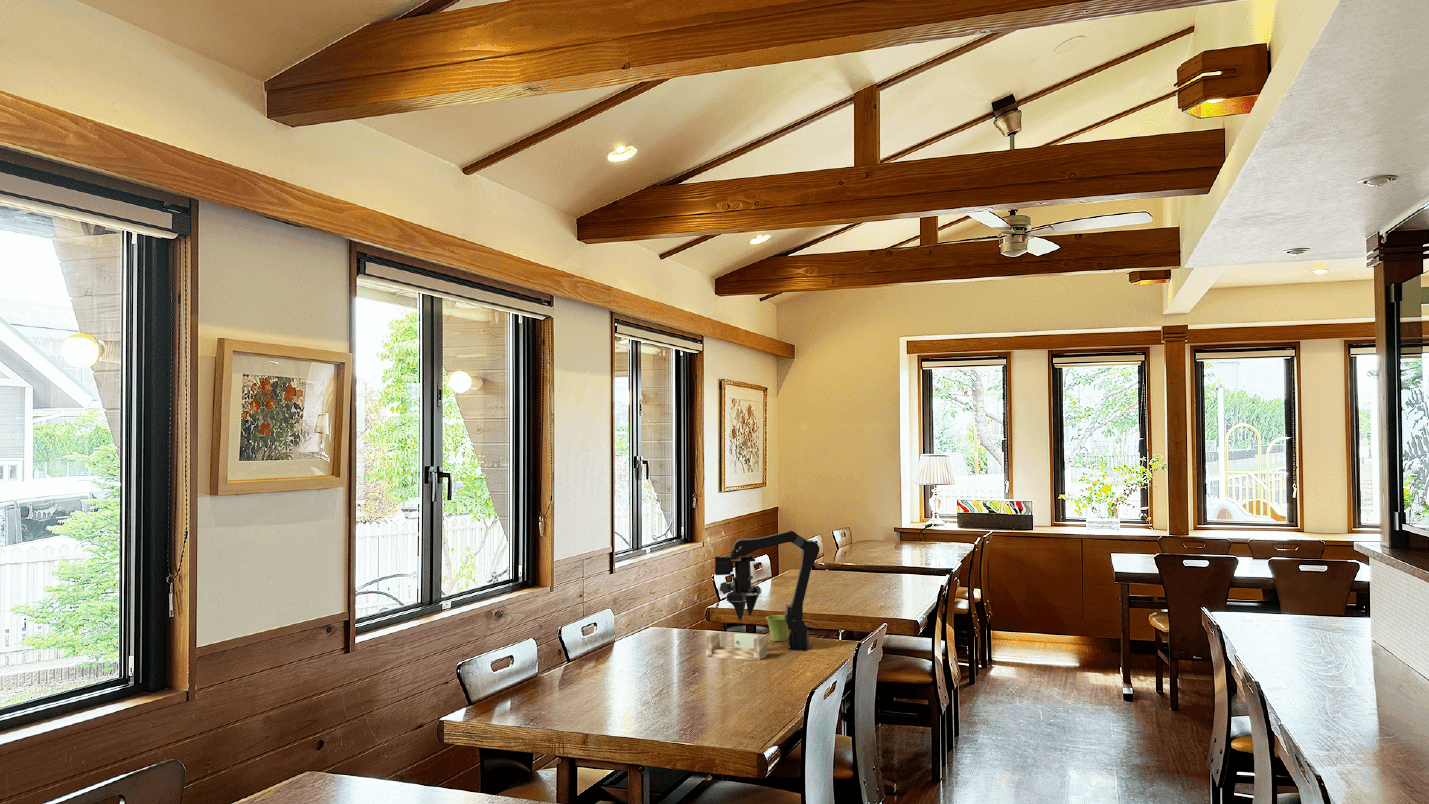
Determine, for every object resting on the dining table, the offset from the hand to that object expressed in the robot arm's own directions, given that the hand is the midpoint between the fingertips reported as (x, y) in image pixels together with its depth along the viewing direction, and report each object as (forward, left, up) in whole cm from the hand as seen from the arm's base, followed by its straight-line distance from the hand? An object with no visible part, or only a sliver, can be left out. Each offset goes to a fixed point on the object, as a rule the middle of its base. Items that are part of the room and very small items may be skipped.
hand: (745, 617), depth 328 cm
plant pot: (-6, -20, -12) cm, 24 cm away
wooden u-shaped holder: (0, +9, -12) cm, 15 cm away
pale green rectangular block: (-1, +1, -12) cm, 12 cm away
